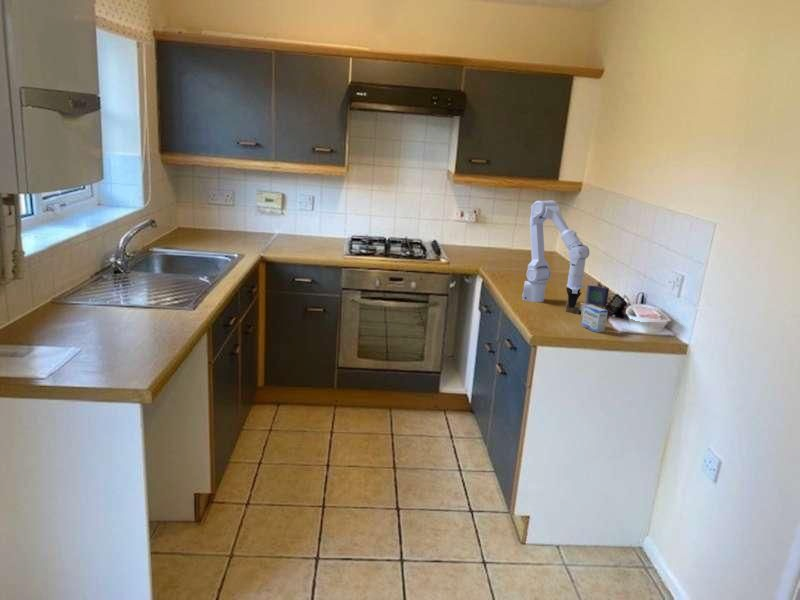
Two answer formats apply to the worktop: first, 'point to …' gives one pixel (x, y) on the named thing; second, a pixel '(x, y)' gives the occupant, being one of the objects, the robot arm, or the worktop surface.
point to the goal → (583, 309)
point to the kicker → (573, 310)
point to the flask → (597, 294)
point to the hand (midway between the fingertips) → (571, 306)
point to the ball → (582, 307)
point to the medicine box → (594, 318)
